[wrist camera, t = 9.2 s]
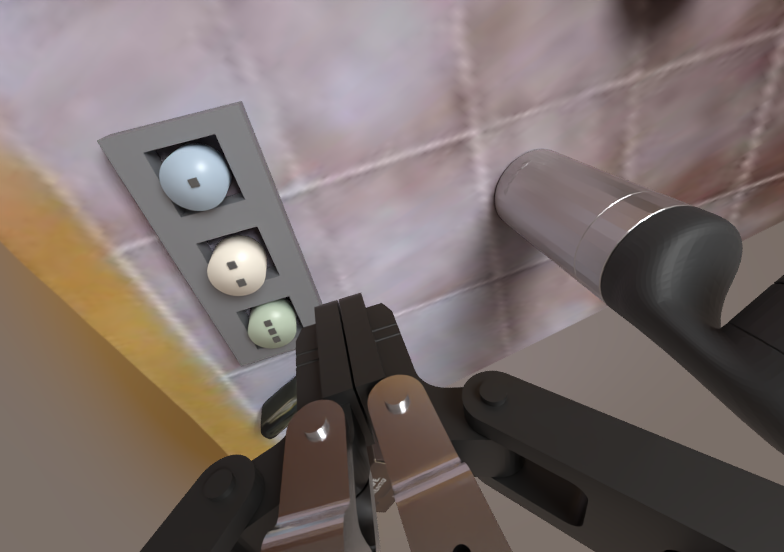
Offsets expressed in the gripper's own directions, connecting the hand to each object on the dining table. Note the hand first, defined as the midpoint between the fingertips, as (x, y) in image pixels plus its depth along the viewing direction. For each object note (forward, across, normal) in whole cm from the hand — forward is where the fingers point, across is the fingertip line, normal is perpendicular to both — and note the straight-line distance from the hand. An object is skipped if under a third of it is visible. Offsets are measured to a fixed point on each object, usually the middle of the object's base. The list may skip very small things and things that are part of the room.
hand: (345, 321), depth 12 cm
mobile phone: (+27, +11, +29) cm, 41 cm away
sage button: (+26, +10, +17) cm, 33 cm away
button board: (+27, +10, +8) cm, 30 cm away
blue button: (+26, +10, 0) cm, 28 cm away
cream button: (+25, +10, +9) cm, 28 cm away
